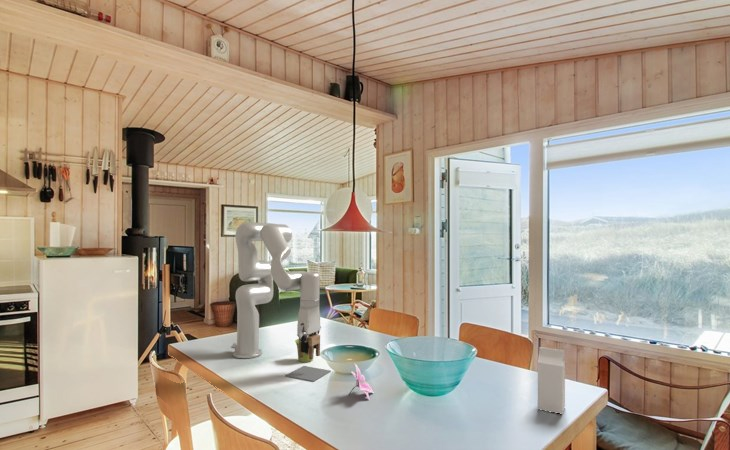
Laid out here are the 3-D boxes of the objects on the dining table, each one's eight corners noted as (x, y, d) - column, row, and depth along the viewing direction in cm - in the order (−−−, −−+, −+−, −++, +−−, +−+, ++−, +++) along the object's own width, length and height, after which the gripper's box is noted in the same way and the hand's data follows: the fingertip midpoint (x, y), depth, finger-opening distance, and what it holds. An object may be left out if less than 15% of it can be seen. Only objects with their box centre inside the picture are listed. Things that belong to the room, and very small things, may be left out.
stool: (298, 357, 157) (298, 336, 157) (307, 353, 162) (307, 333, 162) (311, 359, 154) (312, 338, 154) (319, 355, 159) (320, 335, 160)
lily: (355, 409, 128) (370, 383, 129) (330, 386, 135) (345, 361, 136) (373, 408, 138) (387, 384, 139) (349, 387, 145) (363, 364, 146)
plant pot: (318, 357, 179) (318, 338, 180) (313, 364, 170) (314, 343, 170) (298, 356, 180) (298, 337, 181) (292, 363, 171) (292, 342, 171)
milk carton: (562, 415, 124) (562, 353, 124) (537, 410, 127) (537, 349, 128) (565, 407, 130) (564, 348, 130) (541, 402, 134) (541, 344, 134)
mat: (284, 376, 155) (284, 375, 155) (303, 366, 167) (303, 365, 167) (313, 381, 149) (313, 380, 149) (331, 371, 161) (331, 370, 161)
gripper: (313, 300, 168) (313, 344, 168) (289, 306, 153) (288, 354, 152) (329, 301, 165) (328, 346, 164) (305, 308, 149) (305, 357, 149)
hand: (309, 349), depth 158 cm, fingers closed on stool, 6 cm apart
